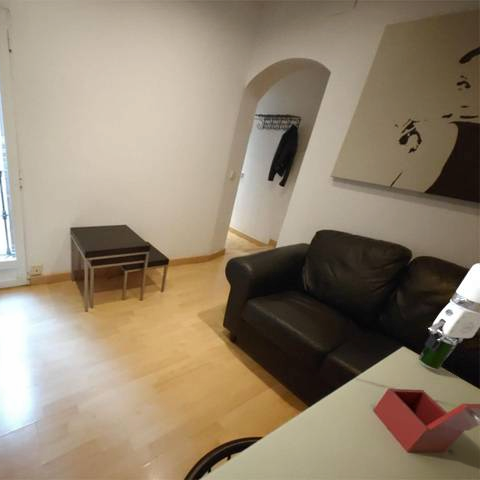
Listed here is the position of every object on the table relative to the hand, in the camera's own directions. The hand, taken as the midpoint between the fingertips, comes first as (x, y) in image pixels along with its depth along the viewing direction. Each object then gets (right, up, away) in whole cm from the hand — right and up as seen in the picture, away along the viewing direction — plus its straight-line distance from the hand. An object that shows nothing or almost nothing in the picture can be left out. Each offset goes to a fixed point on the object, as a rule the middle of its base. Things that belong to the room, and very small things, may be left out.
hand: (438, 348), depth 86 cm
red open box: (-27, -14, -18) cm, 35 cm away
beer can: (-1, -6, +3) cm, 7 cm away
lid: (-24, -3, -28) cm, 38 cm away
